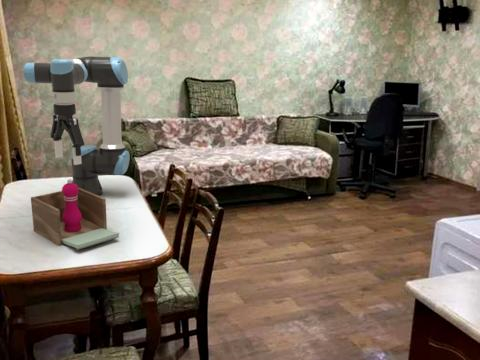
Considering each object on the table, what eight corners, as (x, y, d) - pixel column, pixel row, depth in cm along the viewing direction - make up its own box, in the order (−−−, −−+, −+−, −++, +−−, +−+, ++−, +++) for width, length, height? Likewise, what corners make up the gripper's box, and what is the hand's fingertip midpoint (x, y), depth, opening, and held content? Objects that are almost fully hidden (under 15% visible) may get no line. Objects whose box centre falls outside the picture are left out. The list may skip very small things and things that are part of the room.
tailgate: (101, 228, 191) (118, 232, 183) (102, 232, 191) (119, 237, 183) (61, 239, 179) (77, 245, 171) (61, 244, 179) (78, 250, 171)
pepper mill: (59, 228, 189) (55, 179, 183) (76, 224, 194) (73, 175, 189) (69, 233, 184) (65, 183, 179) (86, 229, 189) (83, 179, 184)
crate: (80, 218, 204) (78, 187, 201) (107, 231, 191) (105, 198, 188) (33, 230, 190) (30, 197, 187) (58, 245, 177) (56, 210, 174)
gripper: (38, 100, 181) (42, 156, 187) (72, 108, 165) (76, 168, 171) (57, 99, 187) (61, 153, 192) (92, 106, 170) (95, 165, 176)
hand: (68, 160), depth 182 cm, fingers open, 13 cm apart
